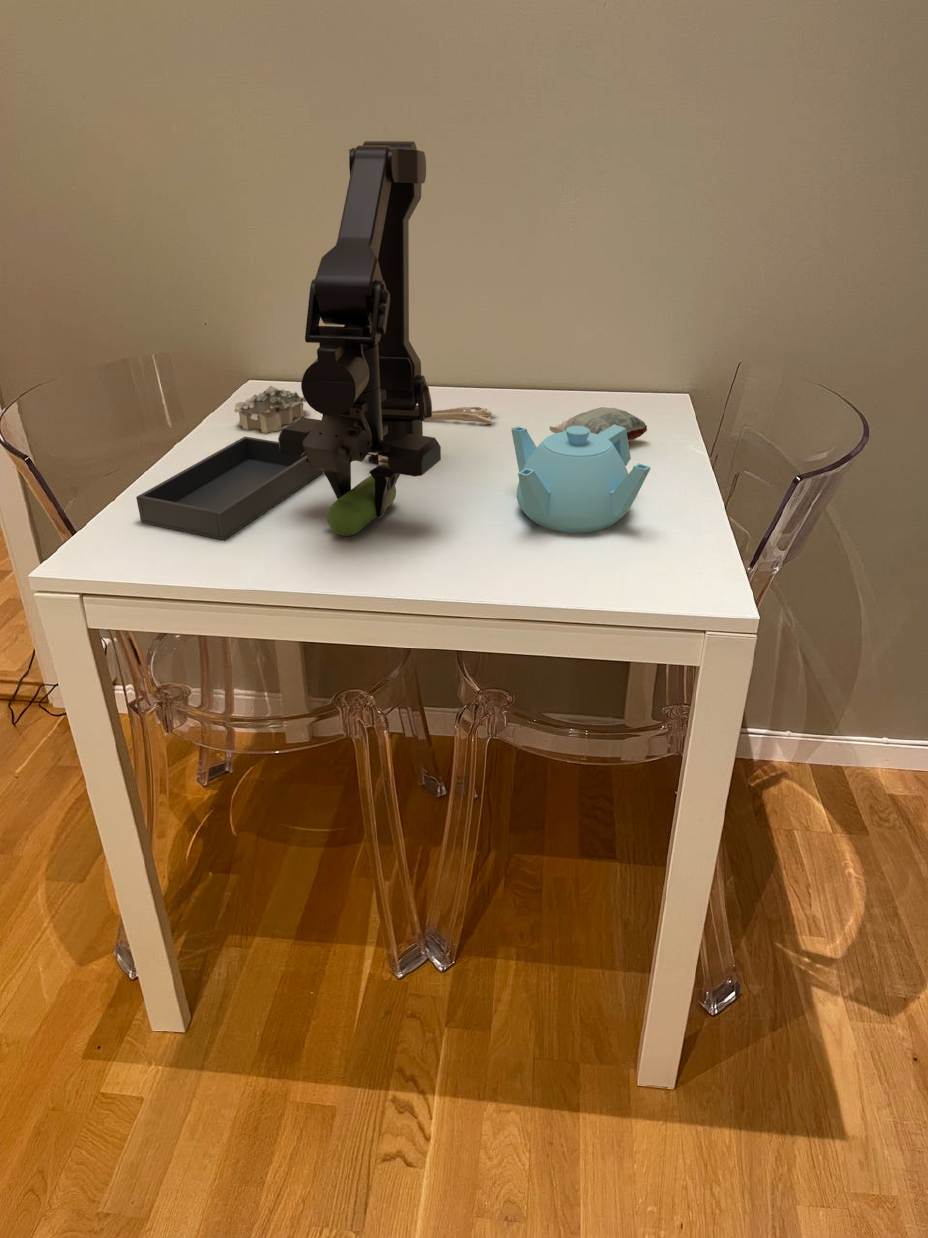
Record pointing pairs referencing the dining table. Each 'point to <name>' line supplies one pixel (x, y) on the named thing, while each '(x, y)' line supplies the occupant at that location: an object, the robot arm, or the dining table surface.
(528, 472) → the teapot
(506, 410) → the dining table surface
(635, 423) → the packaged food
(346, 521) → the squash
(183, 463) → the dining table surface
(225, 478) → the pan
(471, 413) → the animal skull
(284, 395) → the egg carton
